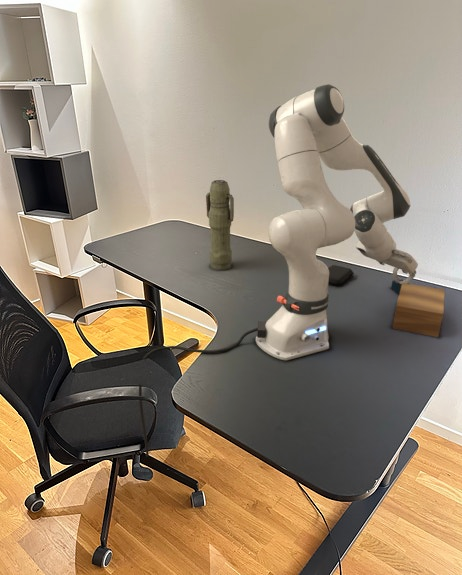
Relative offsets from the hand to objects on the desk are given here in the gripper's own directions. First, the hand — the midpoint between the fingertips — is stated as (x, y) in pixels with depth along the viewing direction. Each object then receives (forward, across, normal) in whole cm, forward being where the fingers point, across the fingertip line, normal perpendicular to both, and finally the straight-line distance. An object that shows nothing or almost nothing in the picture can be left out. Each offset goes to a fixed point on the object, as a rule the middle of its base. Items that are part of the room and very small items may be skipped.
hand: (394, 267), depth 153 cm
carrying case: (+4, +20, +12) cm, 24 cm away
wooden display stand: (+1, -17, +14) cm, 22 cm away
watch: (+11, -1, +4) cm, 12 cm away
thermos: (-16, +58, +32) cm, 68 cm away
